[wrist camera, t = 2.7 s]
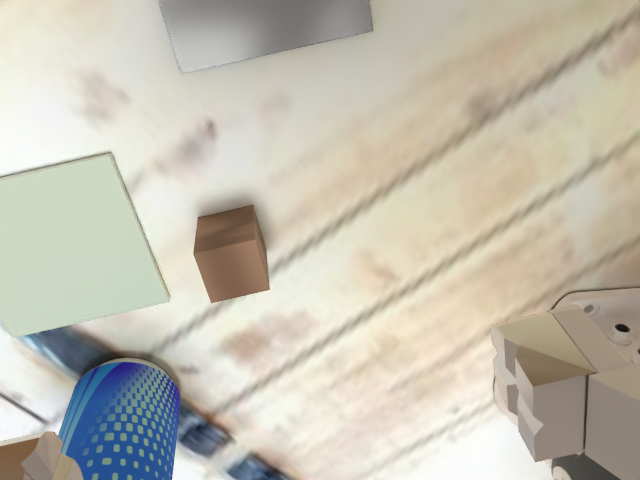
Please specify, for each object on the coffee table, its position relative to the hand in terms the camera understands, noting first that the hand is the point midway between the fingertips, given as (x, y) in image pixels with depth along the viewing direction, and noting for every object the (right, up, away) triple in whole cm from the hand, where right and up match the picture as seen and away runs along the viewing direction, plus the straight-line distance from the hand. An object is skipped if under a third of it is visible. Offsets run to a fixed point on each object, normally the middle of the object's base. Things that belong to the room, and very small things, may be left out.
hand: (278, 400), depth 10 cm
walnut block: (-6, +3, +31) cm, 31 cm away
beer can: (-15, -9, +37) cm, 41 cm away
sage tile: (-18, +2, +29) cm, 34 cm away
